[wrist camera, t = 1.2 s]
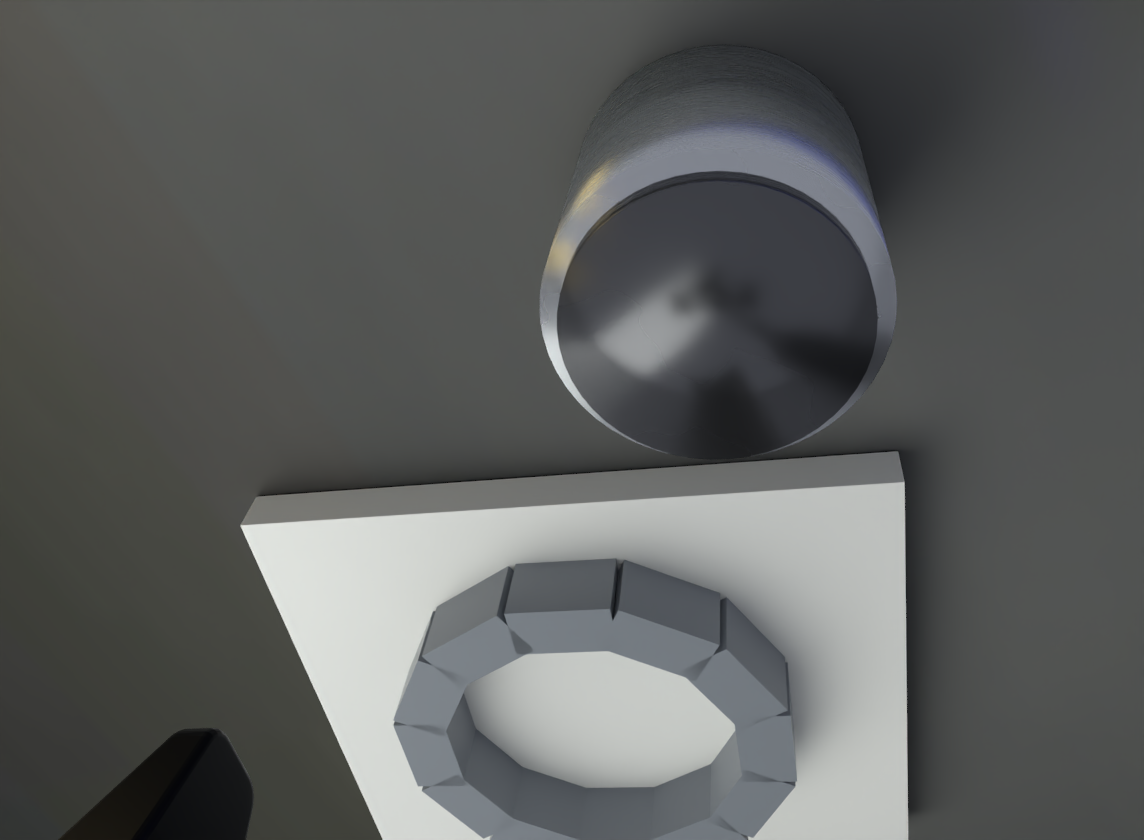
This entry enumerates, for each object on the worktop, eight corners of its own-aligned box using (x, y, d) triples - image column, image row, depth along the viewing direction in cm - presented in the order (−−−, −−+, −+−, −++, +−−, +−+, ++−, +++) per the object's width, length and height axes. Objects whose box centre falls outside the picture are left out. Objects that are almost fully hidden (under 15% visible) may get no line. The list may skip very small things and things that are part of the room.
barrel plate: (897, 451, 22) (915, 533, 20) (903, 818, 28) (916, 907, 26) (256, 496, 24) (213, 572, 22) (397, 821, 31) (374, 902, 29)
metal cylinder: (858, 22, 17) (899, 136, 13) (867, 299, 20) (902, 462, 16) (552, 67, 18) (501, 186, 14) (600, 324, 21) (570, 486, 17)
